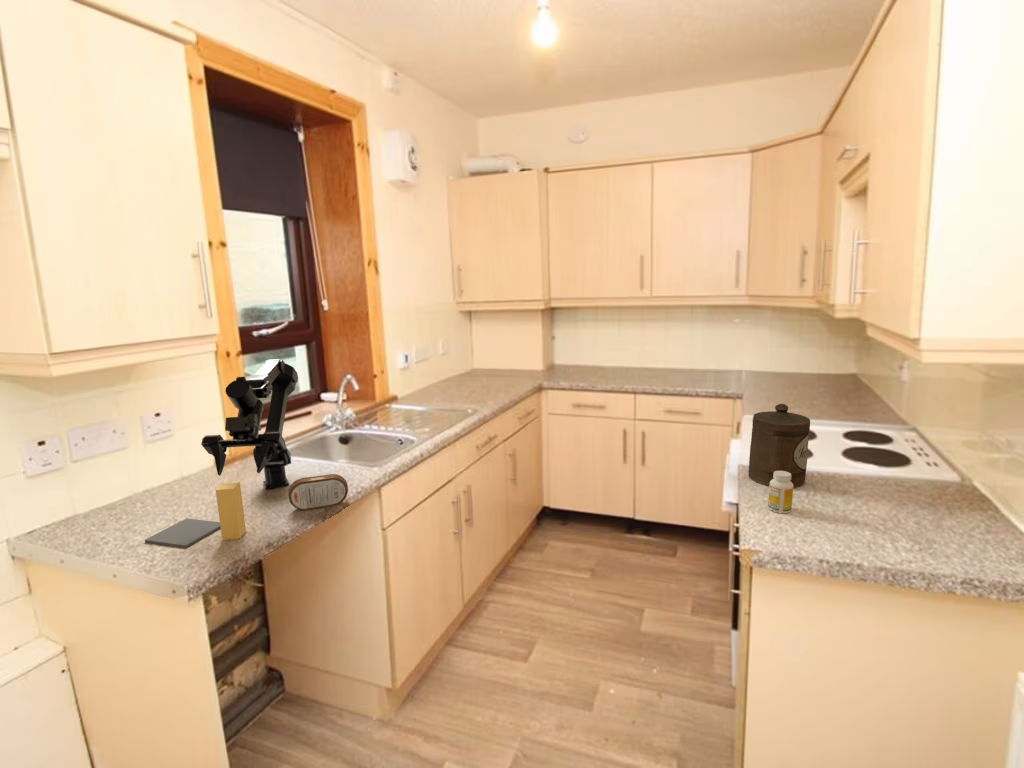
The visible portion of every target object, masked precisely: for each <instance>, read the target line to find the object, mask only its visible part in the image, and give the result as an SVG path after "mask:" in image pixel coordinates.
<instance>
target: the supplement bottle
mask: <svg viewBox="0 0 1024 768" xmlns="http://www.w3.org/2000/svg"><path fill="white" fill-rule="evenodd" d="M773 478H774V479H772V480H771V481H770V485H769V488H768V498H767V499H768V500H767V509H768V510H769V509H770V510H769V511H771V510H773V511H775V512H774V513H776V512H781V513H785V514H789V513H790V512H792V509H793V508H792V507H793V506H792V505H793V496H794V495H793V494H794V487H793V483H792V482H791V481H790V480H791V473H789V472H786V471H775V472H774V474H773ZM773 511H772V512H773ZM788 512H789V513H788ZM781 513H780V514H781Z"/></svg>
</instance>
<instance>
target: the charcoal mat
mask: <svg viewBox="0 0 1024 768" xmlns="http://www.w3.org/2000/svg"><path fill="white" fill-rule="evenodd" d="M219 529H220V530H221V527H220V521H211V520H205V519H195V518H188V517H186V518H185V519H182V520H180V521H178V522H177V523H175V524H173V525H171V526H169V527H167V528H165V529H163V530H161V531H159V532H156V533H155V534H153V535H151V536H150V537H148V538H146V539H145V538H144V542H145V543H147V544H148V543H149V544H154V545H155V544H156V545H163V546H170V547H177V548H184V549H186V548H189V547H190V546H192V545H194V544H195V543H197V542H199V541H200V540H203V539H205V538H206V537H208V536H209V535H211V534H213V533H215V532H216V531H219Z"/></svg>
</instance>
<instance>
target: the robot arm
mask: <svg viewBox="0 0 1024 768" xmlns="http://www.w3.org/2000/svg"><path fill="white" fill-rule="evenodd" d="M298 380H299V375H298V372H297V371H296V369H295V367H294V366H292V365H290V364H288V363H285V361H284V360H283V359H279V358H278V359H267V360H264V364H263V365H262V367H260V368H259V369H258V370H257V372H256V373H254V374H252V375H248V376H237V377H235V379H234V380H233V381H231V382H230V383H228V385H227V386H225V394H226V396H227V398H228V399H229V400H230V402H231V403H232V405H233V406H234V408H236V409H237V410H238V411H237V416H230V417H229V416H228V417H225V426H224V431H226V432H228V435H229V436H230V437H232V439H224V438H223V437H222V435H221V434H212V435H211V434H210V435H205V436H204V437H202V439H201V443H200V445H201V446H202V447H203V448H204V450H205V451H206V452H207V453H208V454H209V455H212V456H213V457H214V463H215V467H216V473H217V475H218V476H222V473H223V471H224V467H225V462H226V459H227V453H226V452H227V449H228V448H239V447H240V448H241V447H254V448H253V451H252V452H253V453H252V454H253V455H252V456H253V459H254V463H255V466H256V473H257V474H261V472H262V470H263V472H264V480H263V482H262V483H263V486H264V489H265V490H269V489H275V488H281V487H285V486H289V485H290V482H289V480H288V478H287V474H286V473H287V472H286V466H288V465H291V464H292V457H291V456H292V454H291V451H289V449H288V447H287V445H286V440H285V439H284V437H283V429H284V425H285V417H286V411H287V404H288V400H289V396H290V395H291V394H292V393H293V392H294V391H295V389H296V385H297V383H298V382H299V381H298ZM270 395H271V396H270ZM269 397H270V402H269V407H268V414H267V417H266V418H267V419H266V425H265V429H264V432H263V433H260V432H259V431H262V426H261V421H262V416H263V413H264V412H265V408H264V403H263V402H262V399H267V398H269ZM260 399H261V400H260Z"/></svg>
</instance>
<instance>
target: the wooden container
mask: <svg viewBox="0 0 1024 768" xmlns="http://www.w3.org/2000/svg"><path fill="white" fill-rule="evenodd" d="M774 409H775V411H773V410H772V411H760V412H756V413H754V414H753V416H752V424H751V425H752V429H751V438H750V439H751V440H750V448H749V460H748V463H749V464H748V477H749V479H750V480H752V481H754V482H756V483H758V484H760V483H761V485H763V484H764V486H767V487H768V486H769V485H770V481H771V480H772V479H774V478H773V474H774V472H775V471H786V472H789V473H791V480H790V481H791V482H792V483H793V488H798V487H801V486H803V485H805V483H806V475H807V468H808V467H807V466H808V454H809V437H810V430H811V429H810V428H811V419H810V418H809V417H807V416H805V415H803V414H802V415H801V414H798V413H794V412H789V406H788V405H786V404H785V403H779V404H777V405H775V406H774Z"/></svg>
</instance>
